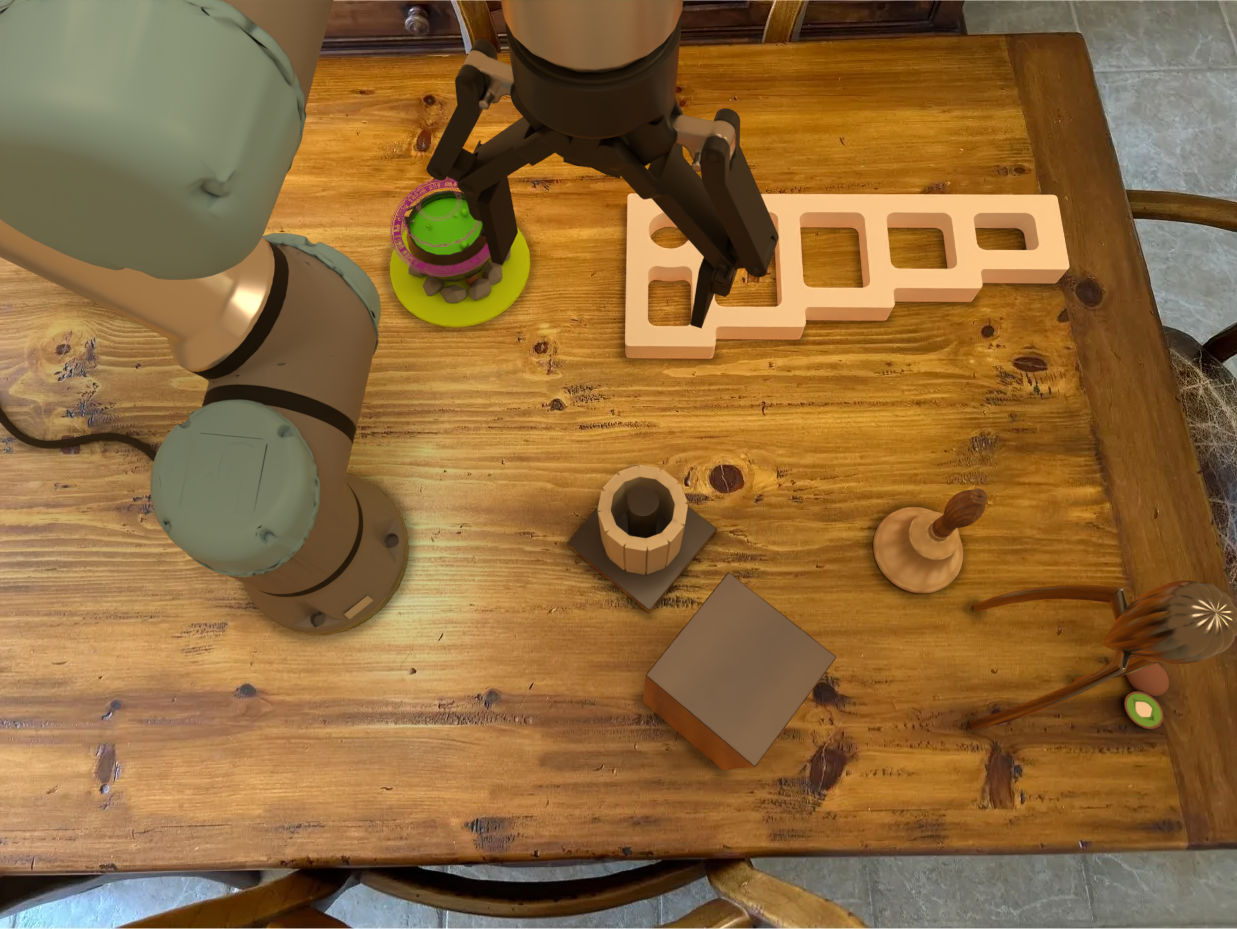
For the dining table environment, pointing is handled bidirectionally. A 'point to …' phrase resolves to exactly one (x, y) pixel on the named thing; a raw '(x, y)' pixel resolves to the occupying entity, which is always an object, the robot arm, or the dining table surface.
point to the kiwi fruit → (1146, 695)
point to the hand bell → (926, 542)
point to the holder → (878, 274)
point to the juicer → (1135, 632)
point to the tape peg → (642, 524)
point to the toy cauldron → (451, 262)
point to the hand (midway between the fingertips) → (602, 278)
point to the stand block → (735, 676)
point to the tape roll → (636, 550)
